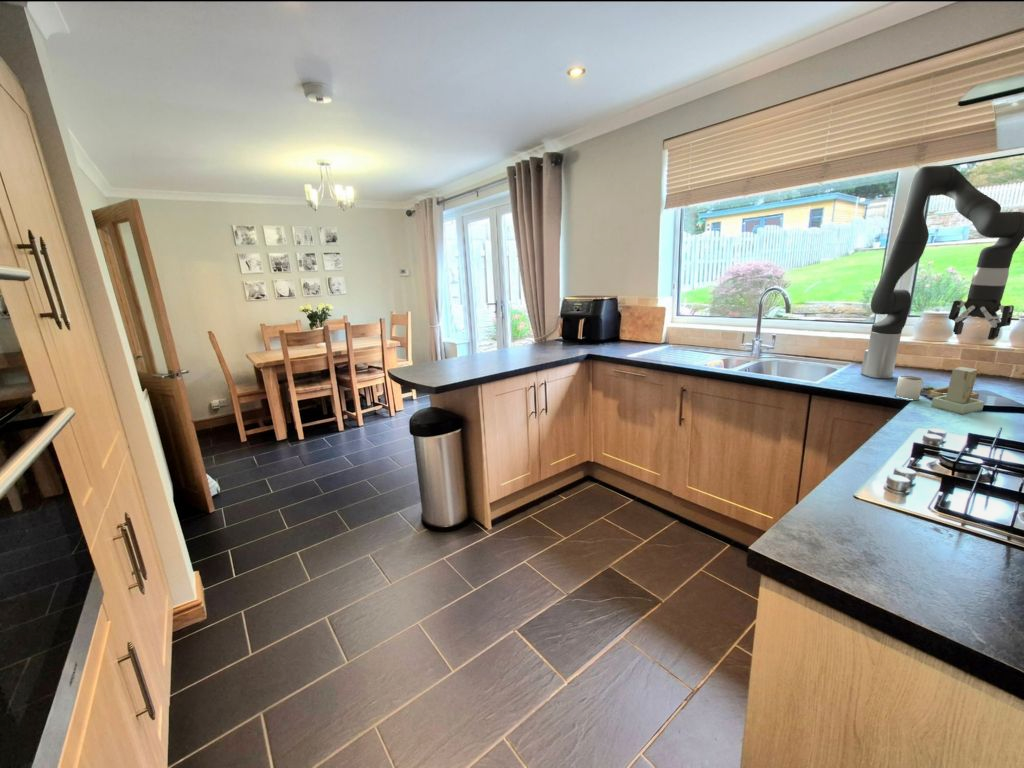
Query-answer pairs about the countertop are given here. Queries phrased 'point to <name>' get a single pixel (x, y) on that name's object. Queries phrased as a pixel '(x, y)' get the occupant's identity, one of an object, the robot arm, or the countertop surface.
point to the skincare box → (961, 385)
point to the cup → (909, 387)
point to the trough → (957, 405)
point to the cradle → (941, 392)
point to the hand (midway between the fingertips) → (973, 336)
